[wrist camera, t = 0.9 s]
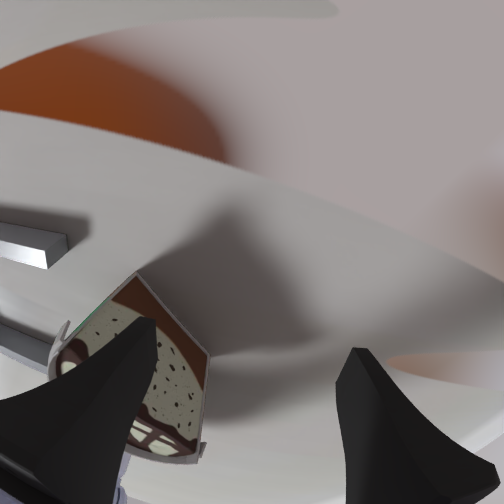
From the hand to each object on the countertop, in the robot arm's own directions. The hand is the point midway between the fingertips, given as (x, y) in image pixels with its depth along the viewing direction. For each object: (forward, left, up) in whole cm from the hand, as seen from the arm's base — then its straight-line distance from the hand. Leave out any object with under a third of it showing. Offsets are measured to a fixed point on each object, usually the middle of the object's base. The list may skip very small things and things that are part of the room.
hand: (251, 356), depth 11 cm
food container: (-9, +8, -11) cm, 16 cm away
